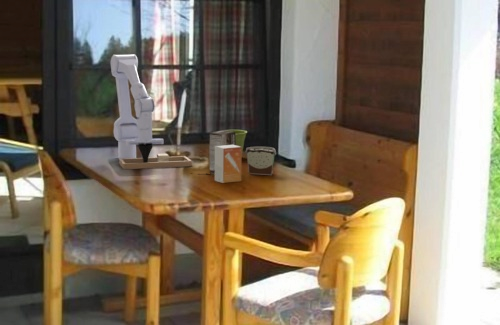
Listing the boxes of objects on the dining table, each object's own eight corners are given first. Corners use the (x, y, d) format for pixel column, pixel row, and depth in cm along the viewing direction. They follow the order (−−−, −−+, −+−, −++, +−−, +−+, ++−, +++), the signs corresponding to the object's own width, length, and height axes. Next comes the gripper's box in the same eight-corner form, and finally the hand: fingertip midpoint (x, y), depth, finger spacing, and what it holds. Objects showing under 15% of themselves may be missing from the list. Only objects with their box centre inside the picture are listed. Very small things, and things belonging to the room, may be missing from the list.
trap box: (119, 167, 359) (119, 158, 359) (185, 164, 367) (185, 156, 366) (123, 172, 348) (123, 163, 347) (191, 169, 355) (191, 160, 355)
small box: (223, 183, 328) (223, 148, 326) (214, 180, 333) (214, 146, 331) (241, 181, 332) (242, 146, 330) (232, 178, 338) (232, 144, 335)
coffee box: (223, 170, 354) (223, 129, 351) (236, 172, 350) (236, 131, 348) (208, 173, 347) (208, 132, 344) (222, 175, 343) (222, 133, 340)
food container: (280, 172, 350) (280, 147, 348) (275, 175, 344) (275, 149, 342) (250, 170, 354) (250, 145, 352) (245, 173, 348) (245, 147, 346)
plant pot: (214, 159, 380) (214, 132, 378) (226, 154, 391) (226, 129, 389) (240, 160, 376) (240, 134, 374) (251, 156, 386) (251, 130, 385)
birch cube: (156, 163, 359) (156, 154, 358) (166, 163, 360) (166, 153, 360) (158, 165, 355) (158, 155, 355) (168, 165, 356) (168, 155, 356)
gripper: (127, 130, 348) (128, 165, 350) (164, 129, 352) (165, 163, 354) (125, 128, 354) (125, 162, 357) (161, 126, 358) (162, 160, 361)
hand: (145, 162), depth 356 cm, fingers closed
